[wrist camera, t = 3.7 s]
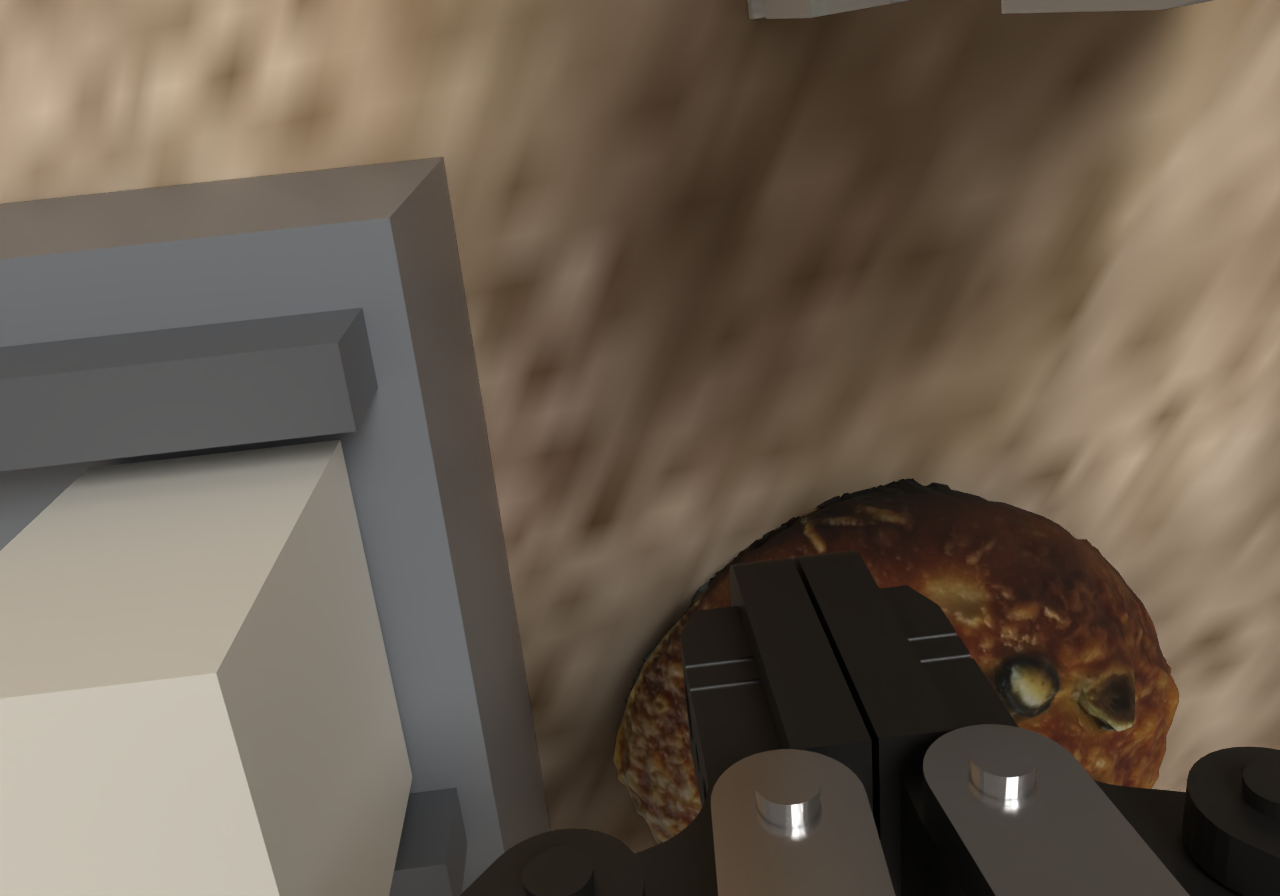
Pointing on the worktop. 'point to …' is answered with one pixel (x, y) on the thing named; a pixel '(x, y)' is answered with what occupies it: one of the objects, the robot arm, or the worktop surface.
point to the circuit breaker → (810, 3)
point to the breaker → (198, 686)
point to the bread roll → (984, 620)
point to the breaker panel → (298, 428)
